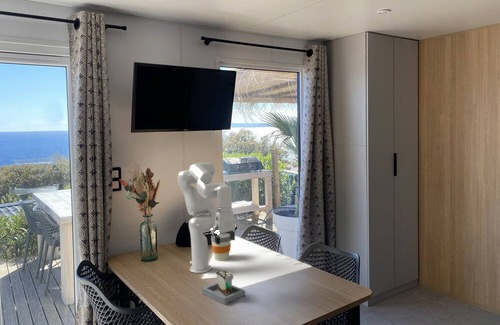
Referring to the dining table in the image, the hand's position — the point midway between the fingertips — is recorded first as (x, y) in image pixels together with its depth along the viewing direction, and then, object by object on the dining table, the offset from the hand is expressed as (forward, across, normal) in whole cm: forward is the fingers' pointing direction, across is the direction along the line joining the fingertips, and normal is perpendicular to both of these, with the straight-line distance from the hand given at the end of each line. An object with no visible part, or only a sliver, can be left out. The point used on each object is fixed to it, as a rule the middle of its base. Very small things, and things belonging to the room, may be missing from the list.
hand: (225, 241), depth 211 cm
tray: (+24, -7, -7) cm, 26 cm away
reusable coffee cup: (+26, +26, +38) cm, 53 cm away
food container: (+24, -5, -7) cm, 25 cm away
